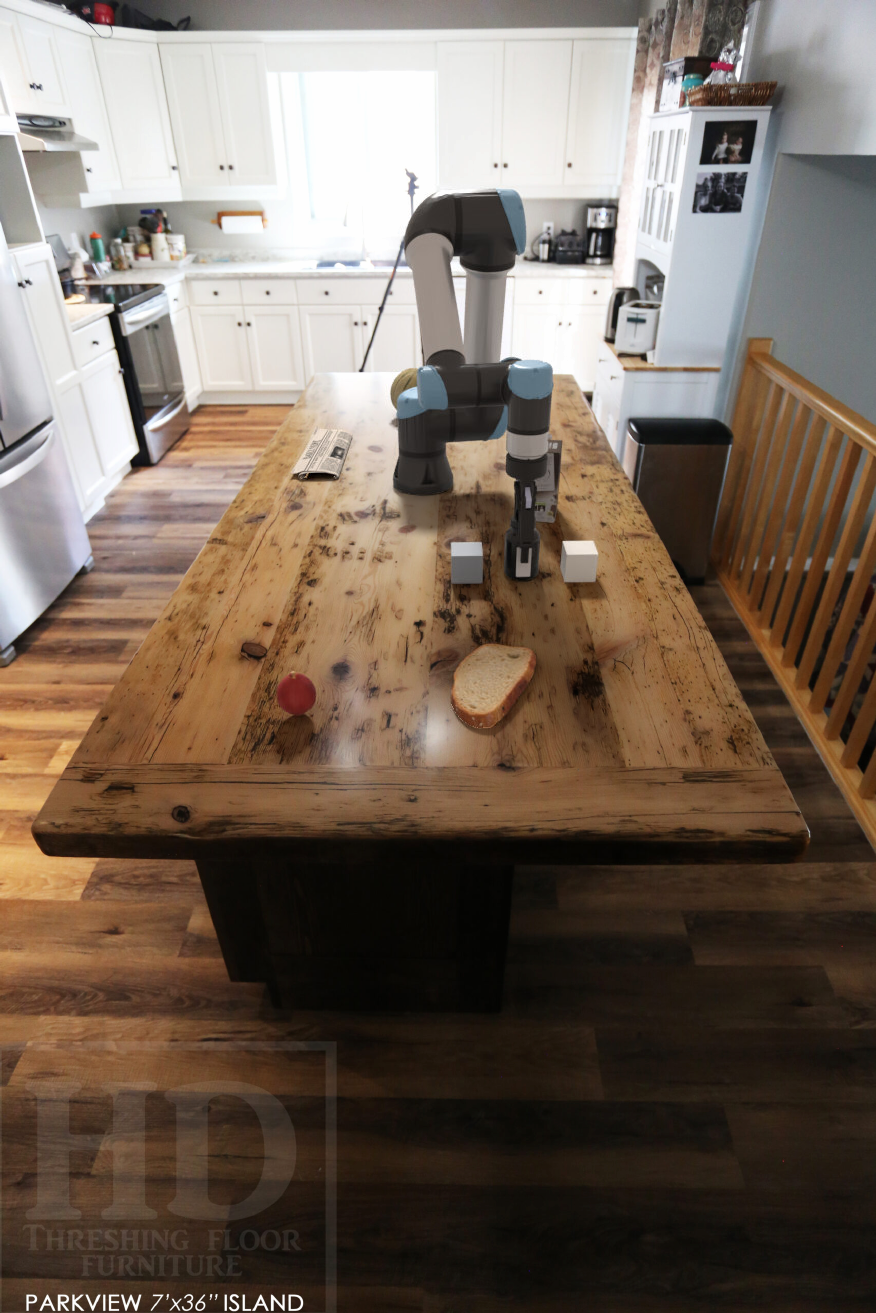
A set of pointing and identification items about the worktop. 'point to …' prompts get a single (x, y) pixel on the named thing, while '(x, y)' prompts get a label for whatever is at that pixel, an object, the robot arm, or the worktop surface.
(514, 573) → the supplement bottle
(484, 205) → the robot arm
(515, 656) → the bread slice
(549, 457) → the coffee box
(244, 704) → the worktop surface
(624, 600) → the worktop surface
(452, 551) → the slate-grey block
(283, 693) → the onion
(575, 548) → the off-white block
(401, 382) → the cantaloupe
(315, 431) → the newspaper
